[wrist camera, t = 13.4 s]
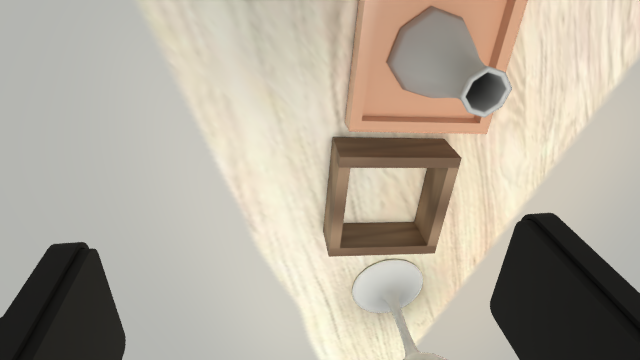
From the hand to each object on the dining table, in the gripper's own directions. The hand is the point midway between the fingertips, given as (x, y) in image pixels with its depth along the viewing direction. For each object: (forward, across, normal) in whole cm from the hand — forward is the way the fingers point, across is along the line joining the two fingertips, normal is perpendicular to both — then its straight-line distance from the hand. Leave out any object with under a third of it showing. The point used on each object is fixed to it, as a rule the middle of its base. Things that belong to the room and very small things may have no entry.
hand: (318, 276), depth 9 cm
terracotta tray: (+27, -13, +2) cm, 30 cm away
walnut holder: (+28, -10, +15) cm, 33 cm away
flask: (+27, -13, +2) cm, 30 cm away
